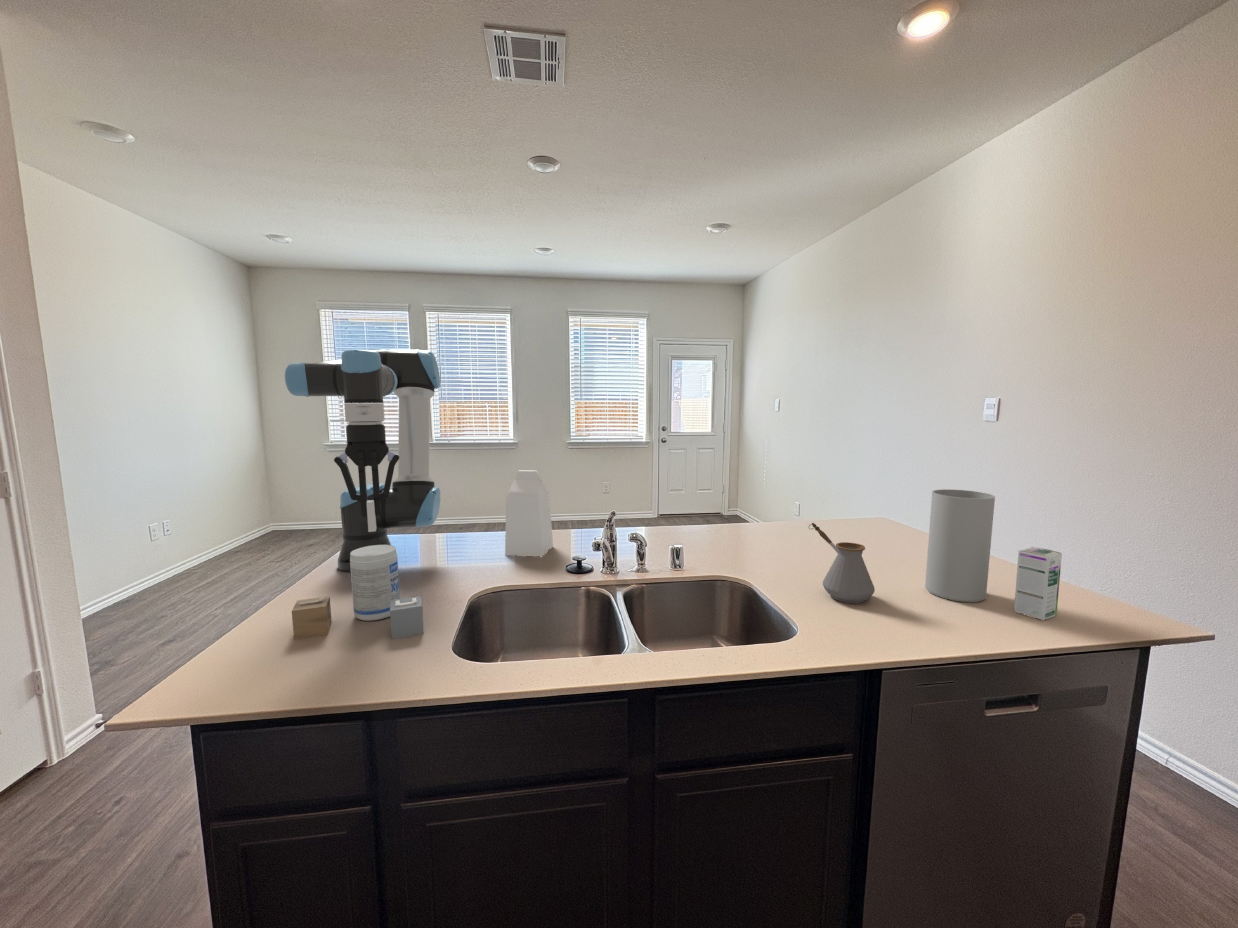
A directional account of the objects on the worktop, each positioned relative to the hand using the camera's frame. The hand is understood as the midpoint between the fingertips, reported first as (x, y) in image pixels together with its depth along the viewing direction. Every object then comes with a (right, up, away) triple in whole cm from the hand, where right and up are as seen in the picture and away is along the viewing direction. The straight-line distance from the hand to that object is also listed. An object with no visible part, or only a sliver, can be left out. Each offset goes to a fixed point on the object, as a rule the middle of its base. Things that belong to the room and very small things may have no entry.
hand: (372, 530), depth 111 cm
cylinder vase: (+138, -18, +13) cm, 139 cm away
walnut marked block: (-9, -20, -6) cm, 23 cm away
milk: (+26, -13, +50) cm, 58 cm away
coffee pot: (+109, -17, +15) cm, 111 cm away
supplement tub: (0, -19, +2) cm, 19 cm away
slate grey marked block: (+10, -20, -6) cm, 24 cm away
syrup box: (+147, -19, +1) cm, 149 cm away
